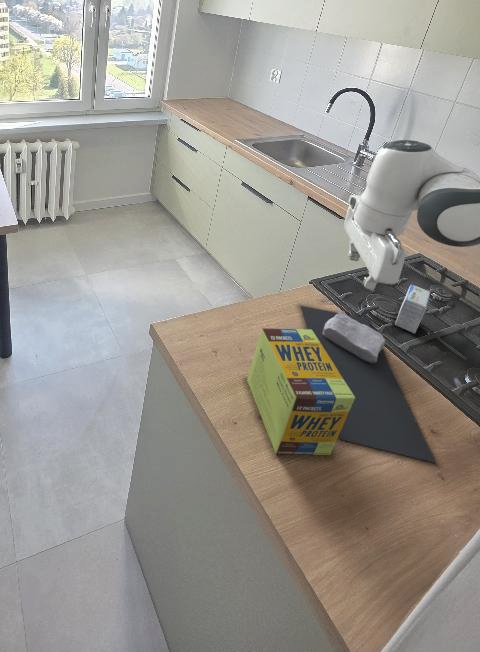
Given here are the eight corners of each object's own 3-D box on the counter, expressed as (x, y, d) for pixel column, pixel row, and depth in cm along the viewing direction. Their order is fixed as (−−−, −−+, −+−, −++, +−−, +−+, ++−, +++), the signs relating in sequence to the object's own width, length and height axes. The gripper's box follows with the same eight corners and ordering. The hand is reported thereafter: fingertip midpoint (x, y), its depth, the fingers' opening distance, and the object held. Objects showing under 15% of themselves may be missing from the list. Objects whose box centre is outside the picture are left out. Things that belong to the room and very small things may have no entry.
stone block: (331, 322, 108) (318, 335, 101) (338, 307, 106) (325, 319, 100) (382, 352, 100) (372, 369, 93) (391, 336, 99) (381, 352, 92)
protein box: (275, 456, 75) (296, 398, 69) (246, 380, 89) (260, 326, 83) (332, 456, 76) (357, 398, 69) (293, 381, 90) (312, 327, 84)
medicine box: (414, 334, 103) (427, 308, 100) (393, 324, 106) (405, 298, 102) (419, 317, 109) (431, 291, 105) (399, 308, 111) (410, 283, 108)
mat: (366, 318, 108) (367, 318, 107) (435, 463, 75) (435, 462, 75) (300, 306, 111) (300, 305, 111) (339, 439, 79) (339, 439, 79)
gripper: (423, 249, 74) (396, 309, 79) (378, 195, 92) (359, 247, 98) (383, 244, 75) (360, 303, 81) (347, 191, 93) (330, 243, 99)
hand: (359, 272), depth 89 cm, fingers open, 8 cm apart
